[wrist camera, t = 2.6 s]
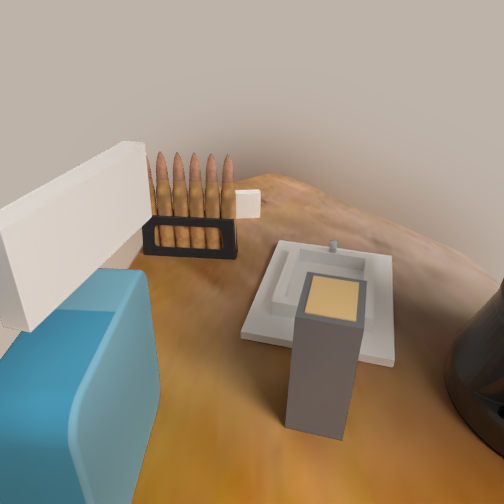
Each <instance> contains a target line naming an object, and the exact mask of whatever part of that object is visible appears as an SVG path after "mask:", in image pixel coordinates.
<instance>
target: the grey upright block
mask: <svg viewBox="0 0 504 504" xmlns="http://www.w3.org/2000/svg"><path fill="white" fill-rule="evenodd" d="M366 290H367V281H364V280H358V279H352V278H345V277H339V276H332V275H326V274H319V273H313V272H307V274H306V278H305V282H304V285H303V289H302V293H301V296H300V300H299V303H298V307H297V311H296V314H295V321H294V332H293V343H292V354H291V365H290V376H289V387H288V398H287V409H286V420H285V428H289V429H293V430H297V431H302V432H306V433H310V434H315V435H319V436H323V437H328V438H332V439H336V440H341V441H342V439H343V434H344V429H345V424H346V419H347V414H348V409H349V404H350V398H351V393H352V388H353V383H354V378H355V373H356V368H357V363H358V358H359V353H360V348H361V343H362V338H363V333H364V324H365V307H366Z"/></svg>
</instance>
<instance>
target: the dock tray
mask: <svg viewBox="0 0 504 504" xmlns="http://www.w3.org/2000/svg"><path fill="white" fill-rule="evenodd" d="M337 244H338V242H337V241H336V240H331V241H330V246H329V247H326V246H319V245H312V244H305V243H297V242H290V241H283V240H279V242H278V244H277V247H276V249H275V251H274V254H273V256H272V258H271V261H270V263H269V266H268V268H267V270H266V273H265V275H264V277H263V280H262V282H261V284H260V287H259V289H258V292H257V294H256V296H255V299H254V301H253V303H252V306H251V308H250V310H249V313H248V315H247V318H246V320H245V322H244V325H243V327H242V329H241V338H242V339H247V340H252V341H257V342H262V343H268V344H273V345H278V346H283V347H288V348H292V343H293V332H294V321H295V314H296V311H297V307H298V303H299V300H300V296H301V293H302V289H303V285H304V282H305V278H306V274H307V272H313V273H319V274H326V275H332V276H339V277H345V278H352V279H358V280H364V281H367V290H366V307H365V324H364V333H363V338H362V343H361V348H360V353H359V358H358V361H361V362H366V363H371V364H377V365H382V366H387V367H392V368H393V366H394V362H395V350H394V315H393V281H392V256H389V255H382V254H375V253H368V252H361V251H354V250H347V249H340V248H337Z"/></svg>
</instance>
